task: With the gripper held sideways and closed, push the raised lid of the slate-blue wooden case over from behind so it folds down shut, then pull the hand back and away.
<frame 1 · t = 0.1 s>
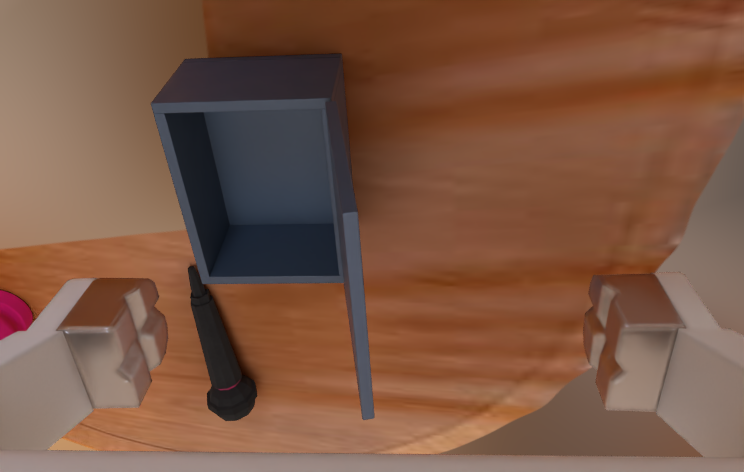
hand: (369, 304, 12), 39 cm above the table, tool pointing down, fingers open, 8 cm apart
case: (277, 148, 54), on the table
lid: (349, 258, 41), point 15 cm above the table, hinge at 100.0°
pepper mill: (4, 308, 68), on the table
microphone: (227, 333, 69), on the table
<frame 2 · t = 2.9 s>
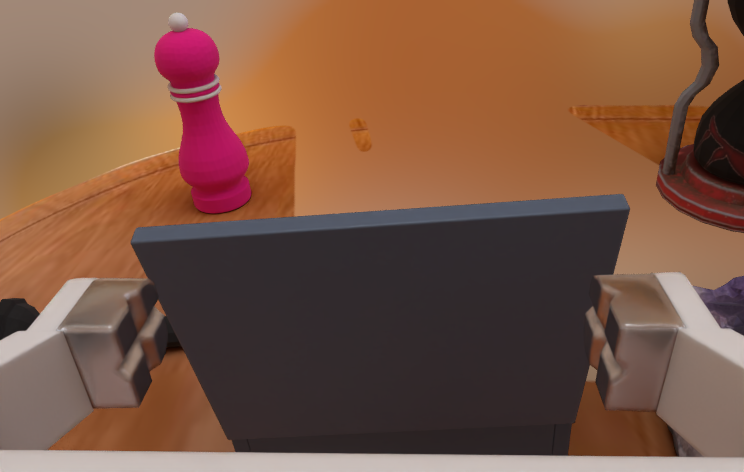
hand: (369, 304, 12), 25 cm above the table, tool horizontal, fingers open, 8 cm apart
case: (404, 436, 40), on the table
lid: (388, 340, 25), point 15 cm above the table, hinge at 100.0°
pepper mill: (223, 200, 69), on the table
microphone: (109, 358, 49), on the table
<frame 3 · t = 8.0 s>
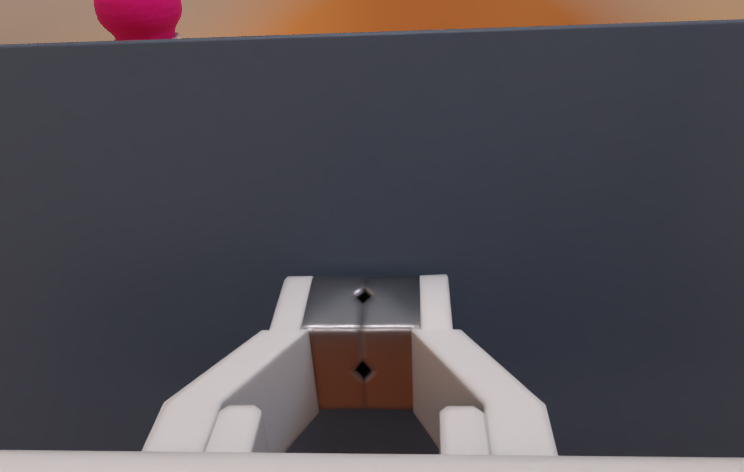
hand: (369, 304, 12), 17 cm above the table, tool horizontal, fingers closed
lid: (372, 375, 13), point 15 cm above the table, hinge at 70.1°
pepper mill: (183, 200, 54), on the table
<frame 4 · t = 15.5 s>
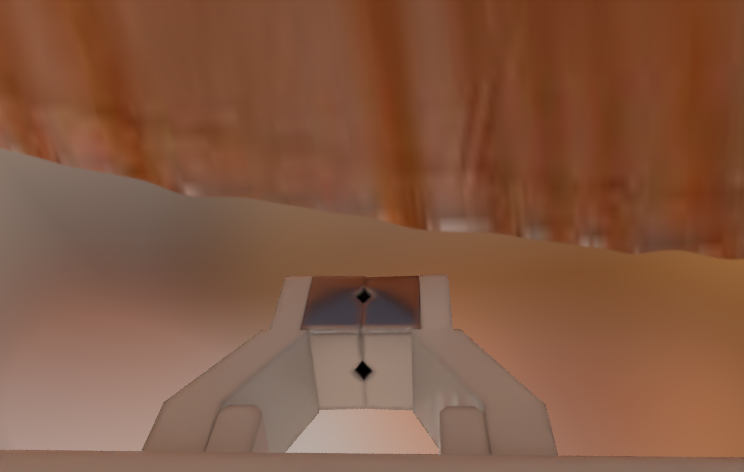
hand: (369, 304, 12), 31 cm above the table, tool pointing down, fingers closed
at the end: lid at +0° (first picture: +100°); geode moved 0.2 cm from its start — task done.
